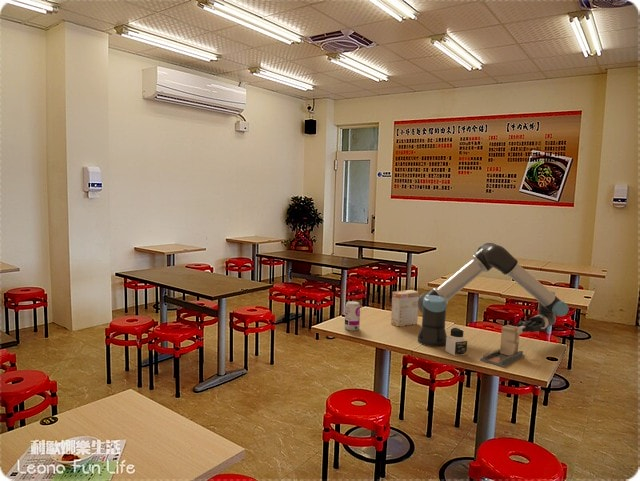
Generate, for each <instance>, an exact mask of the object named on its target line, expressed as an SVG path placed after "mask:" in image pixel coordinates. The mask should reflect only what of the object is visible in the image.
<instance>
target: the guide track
mask: <svg viewBox="0 0 640 481" xmlns="http://www.w3.org/2000/svg"><path fill="white" fill-rule="evenodd" d="M523 353H524V351H522V350H518V352H517V353H514V354H512V355H510V356H508V355H505V354H501V353H500V348H498V349H495V350H493V351H490V352H488V353H487V354H484V355H482V357H480V361H481V362H485V363H488V364H492V365H493V366H494V365H495V366H499V367H502V368H505V367H506V366H509V365H511V364H513V363H515V362H517V361H519V360H521V359H523V358H525V357H526V355H525V354H523Z"/></svg>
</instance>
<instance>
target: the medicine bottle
mask: <svg viewBox="0 0 640 481" xmlns="http://www.w3.org/2000/svg"><path fill="white" fill-rule="evenodd" d="M464 331H465V330H464V329H462V328H460V327H453V328H451V329H450V336H447V338H446V345H445V352H446V353H448V354H450V355H453V356H454V357H457V356H464V355H467V352H468V351H467V349H468V348H467V347H468V339H465V338H464V337H465V336H464V335H465V334H464Z"/></svg>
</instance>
